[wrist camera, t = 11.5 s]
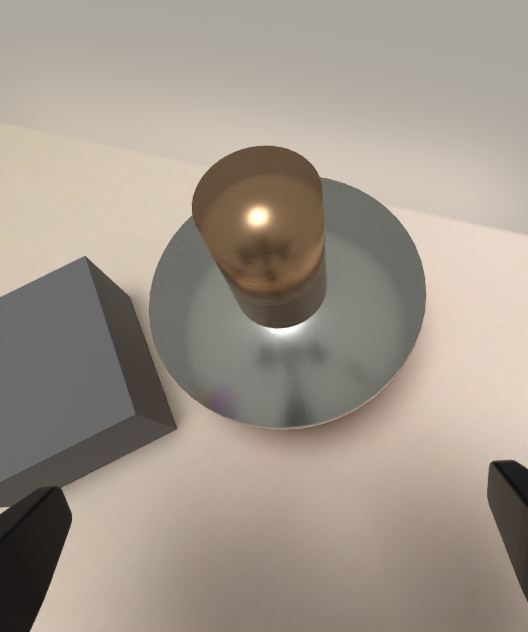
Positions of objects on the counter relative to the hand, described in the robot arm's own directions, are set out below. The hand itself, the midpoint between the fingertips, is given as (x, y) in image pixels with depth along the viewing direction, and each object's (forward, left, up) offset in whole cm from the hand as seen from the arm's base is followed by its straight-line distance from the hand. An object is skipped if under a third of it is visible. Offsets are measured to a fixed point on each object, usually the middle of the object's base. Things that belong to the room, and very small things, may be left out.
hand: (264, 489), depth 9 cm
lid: (+5, -6, -8) cm, 11 cm away
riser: (+13, +4, -13) cm, 19 cm away
